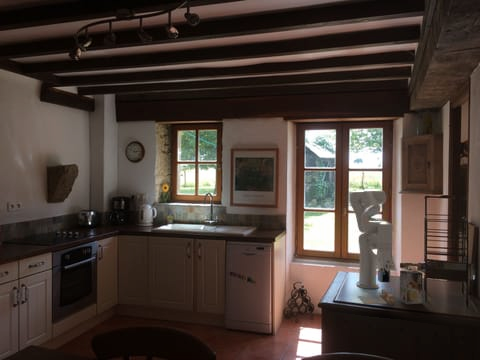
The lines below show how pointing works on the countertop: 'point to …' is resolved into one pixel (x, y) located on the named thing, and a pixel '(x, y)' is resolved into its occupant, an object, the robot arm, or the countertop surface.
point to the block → (381, 275)
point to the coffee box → (411, 287)
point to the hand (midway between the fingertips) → (384, 280)
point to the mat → (372, 299)
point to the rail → (387, 296)
